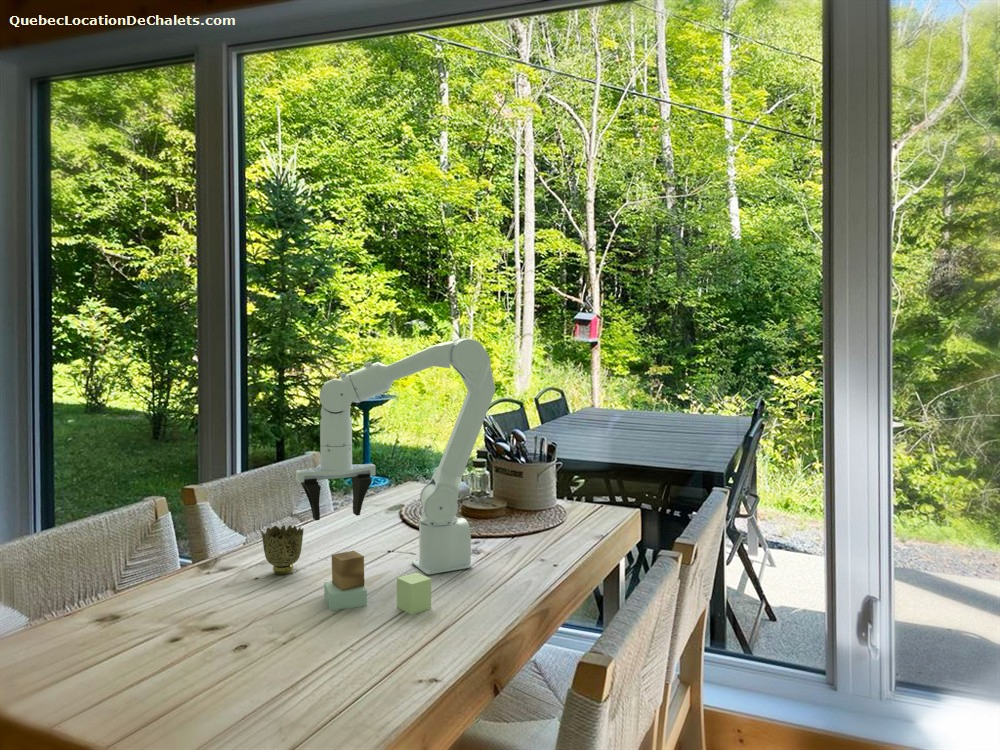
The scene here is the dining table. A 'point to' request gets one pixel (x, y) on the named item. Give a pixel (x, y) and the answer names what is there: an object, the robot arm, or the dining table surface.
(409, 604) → the sage block
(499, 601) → the dining table surface
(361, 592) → the mint green base block
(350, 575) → the walnut block
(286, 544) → the cup
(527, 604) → the dining table surface
